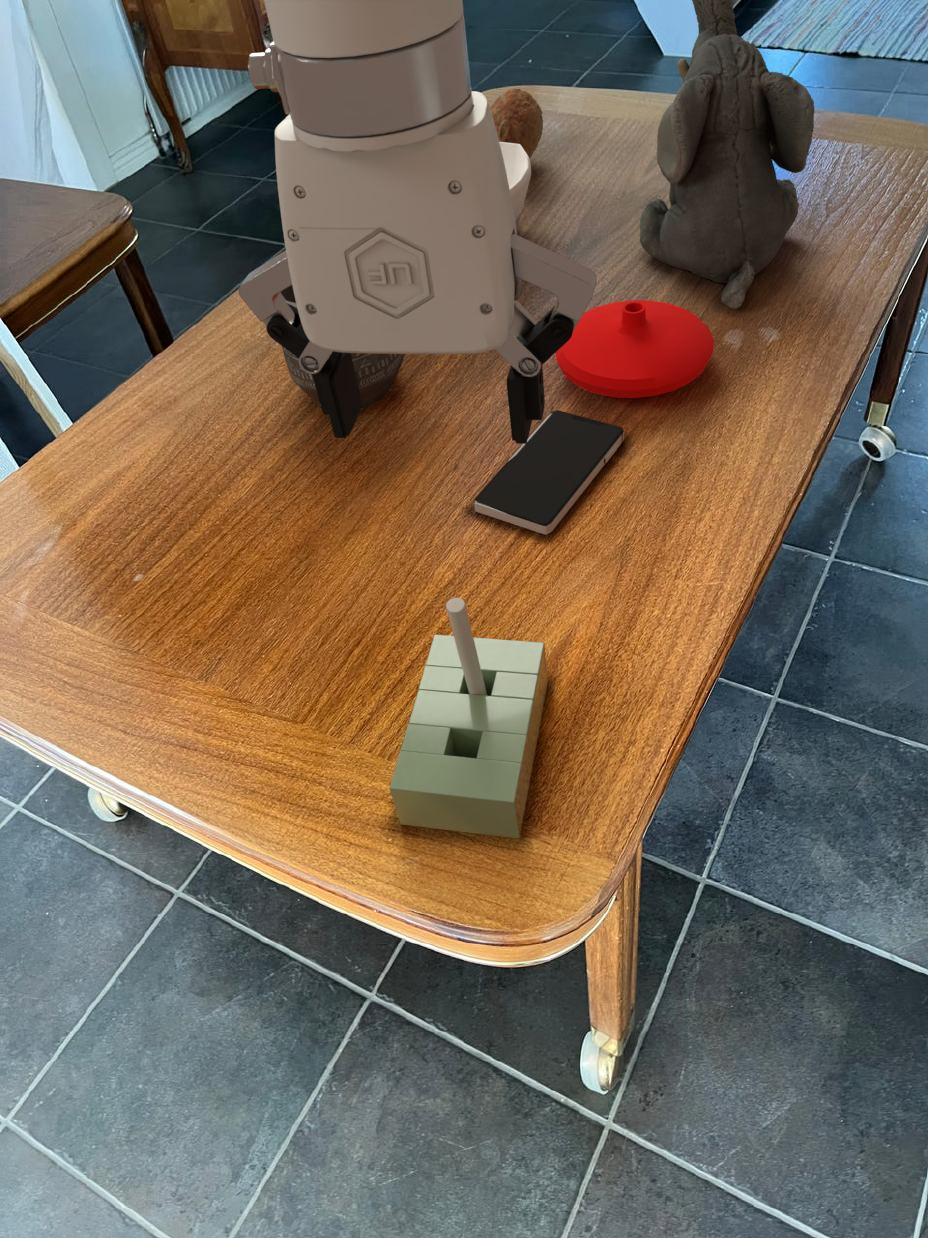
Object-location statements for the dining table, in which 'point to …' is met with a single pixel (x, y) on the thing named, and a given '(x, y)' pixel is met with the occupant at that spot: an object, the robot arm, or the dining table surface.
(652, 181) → the dining table surface
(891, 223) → the dining table surface
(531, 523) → the smartphone
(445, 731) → the pen holder
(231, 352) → the dining table surface
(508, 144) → the bowl
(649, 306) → the red disc with nozzle
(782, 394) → the dining table surface
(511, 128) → the coconut
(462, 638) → the grey cylindrical rod
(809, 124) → the stuffed elephant
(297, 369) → the planter
